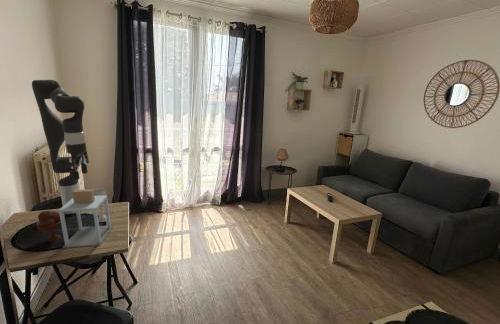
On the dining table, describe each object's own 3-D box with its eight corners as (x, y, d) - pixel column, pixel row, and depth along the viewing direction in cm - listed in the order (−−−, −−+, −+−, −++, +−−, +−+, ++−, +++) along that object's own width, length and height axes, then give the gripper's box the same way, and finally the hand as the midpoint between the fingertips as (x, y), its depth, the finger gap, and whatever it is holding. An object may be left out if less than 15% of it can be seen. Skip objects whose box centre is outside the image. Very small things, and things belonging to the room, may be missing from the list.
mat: (80, 228, 133) (80, 227, 133) (113, 226, 136) (113, 225, 136) (62, 248, 116) (62, 247, 116) (100, 245, 119) (100, 244, 118)
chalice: (92, 221, 140) (87, 191, 135) (102, 216, 146) (98, 187, 141) (102, 223, 138) (98, 193, 133) (112, 218, 144) (109, 188, 139)
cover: (80, 228, 131) (72, 185, 125) (111, 226, 134) (105, 184, 128) (65, 245, 117) (56, 197, 111) (100, 242, 120) (93, 196, 114)
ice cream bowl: (53, 246, 117) (47, 217, 113) (33, 243, 119) (27, 214, 115) (73, 234, 127) (68, 207, 123) (54, 231, 129) (49, 204, 125)
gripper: (73, 139, 119) (79, 171, 123) (57, 145, 105) (63, 181, 110) (91, 139, 120) (95, 171, 125) (77, 145, 107) (82, 181, 111)
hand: (80, 176), depth 117 cm, fingers open, 8 cm apart
